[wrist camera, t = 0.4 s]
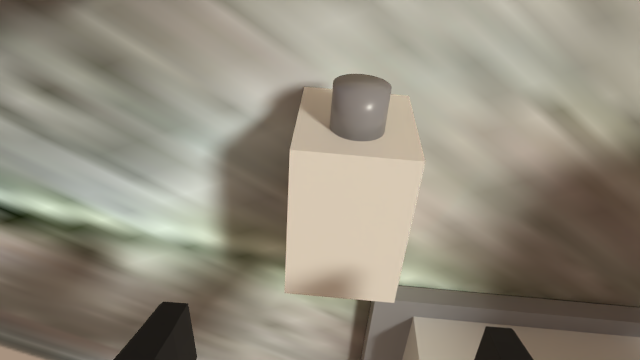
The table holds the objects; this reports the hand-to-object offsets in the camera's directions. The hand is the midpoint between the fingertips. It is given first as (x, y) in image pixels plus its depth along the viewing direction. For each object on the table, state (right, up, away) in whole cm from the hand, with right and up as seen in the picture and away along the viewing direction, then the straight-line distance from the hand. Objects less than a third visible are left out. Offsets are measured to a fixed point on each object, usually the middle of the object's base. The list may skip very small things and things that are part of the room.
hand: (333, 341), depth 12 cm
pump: (+1, +5, +8) cm, 10 cm away
